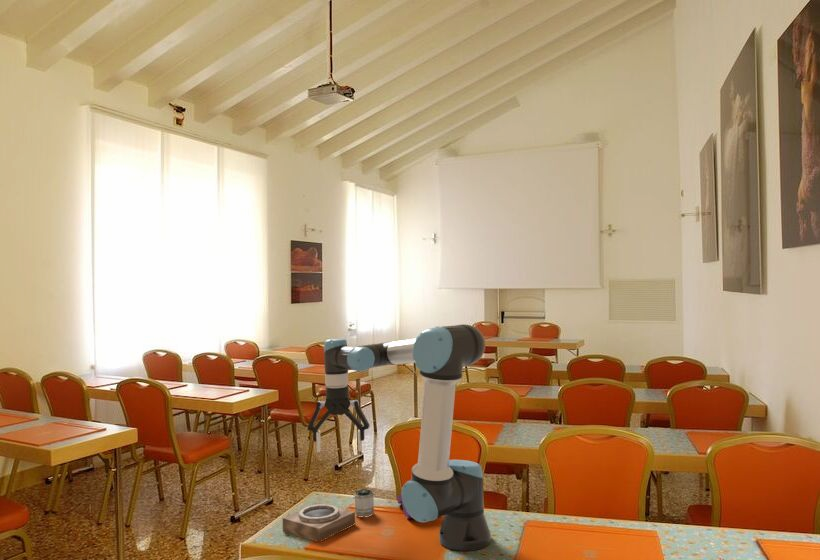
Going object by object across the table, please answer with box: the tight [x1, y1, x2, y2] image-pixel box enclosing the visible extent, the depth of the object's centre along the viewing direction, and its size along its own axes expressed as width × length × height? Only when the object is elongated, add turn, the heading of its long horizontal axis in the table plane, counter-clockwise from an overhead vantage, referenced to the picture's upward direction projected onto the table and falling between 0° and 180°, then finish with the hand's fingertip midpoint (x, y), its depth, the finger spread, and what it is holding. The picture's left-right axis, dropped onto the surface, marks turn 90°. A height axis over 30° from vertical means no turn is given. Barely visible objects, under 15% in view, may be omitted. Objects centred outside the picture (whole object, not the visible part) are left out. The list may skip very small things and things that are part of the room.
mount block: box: [282, 502, 356, 542], centre depth 199 cm, size 16×16×5 cm
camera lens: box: [353, 488, 375, 517], centre depth 209 cm, size 6×6×8 cm
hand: (339, 451), depth 207 cm, fingers open, 13 cm apart
